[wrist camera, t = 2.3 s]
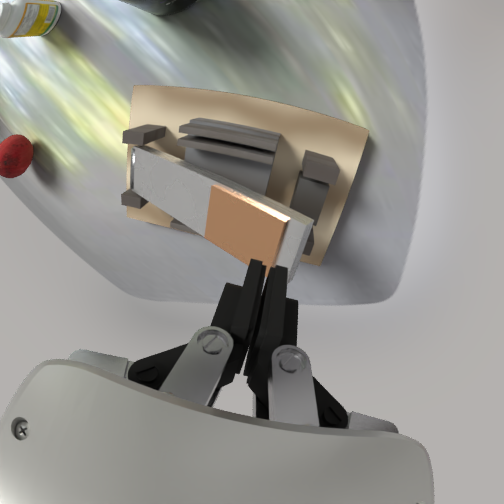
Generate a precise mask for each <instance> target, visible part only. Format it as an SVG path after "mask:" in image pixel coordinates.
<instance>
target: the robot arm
mask: <svg viewBox="0 0 504 504" xmlns="http://www.w3.org/2000/svg"><path fill="white" fill-rule="evenodd" d="M262 263H263V261H260V260H256V259H252V258H251V260H250V263H249V267H248V270H247V274H246V277H245V281H244V284H243V287H242V286H238V285H234V284H231V283H226V284H225V287H224V290H223V293H222V295H221V298H220V301H219V304H218V306H217V309H216V312H215V315H214V317H213V320H212V323H211V326H208V327H203V328H201V329H199V330H198V331H197V332H196V333H195V334H194V336H193V337H192V339H191V340H190V342H189V343H187V344H185V345H182V346H179V347H176V348H173V349H170V350H167V351H164V352H161V353H158V354H155V355H152V356H149V357H146V358H143V359H140V360H138V361H136V362H132V361H128V359H127V358H122V357H117V356H112V355H107V354H102V353H97V352H93V351H89V350H77V351H75V352H73V353H72V354H71V355H70V356H69V358H68V360H64V359H53V360H46V361H44V362H42V363H40V364H39V365H37V366H36V367H35V368H34V369H33V370H32V371H31V372H30V373H29V374H28V376H27V377H26V378H25V379H24V381H23V382H22V384H21V385H20V386H19V388H18V389H17V391H16V393H15V394H14V396H13V397H12V399H11V401H10V402H9V404H8V406H7V408H6V410H5V412H4V414H3V416H2V418H1V420H0V504H434V482H433V472H432V467H431V462H430V458H429V455H428V452H427V450H426V449H425V447H424V446H423V445H422V444H421V443H419V442H418V441H416V440H414V439H412V438H410V437H407V436H404V435H401V434H399V433H398V429H397V428H396V426H395V425H394V424H393V423H391V422H389V421H385V420H381V419H378V418H374V417H370V416H367V415H363V414H360V413H356V412H353V411H352V412H351V413H349V412H346V410H345V409H344V408H343V407H342V406H341V405H340V403H339V402H338V401H337V400H336V399H335V398H334V397H333V396H332V395H331V394H330V393H329V392H328V391H327V390H326V389H325V388H324V387H323V386H322V385H321V384H320V383H319V382H318V381H317V380H316V379H315V378H314V377H313V376H312V371H311V364H310V360H309V357H308V356H307V354H306V353H305V352H304V351H303V350H302V349H300V348H298V347H297V325H298V300H294V299H290V298H286V291H287V278H288V268H287V267H283V266H279V265H276V266H275V268H274V267H270V270H269V273H268V276H267V279H266V283H265V286H264V289H263V283H264V278H265V273H266V267H267V266H266V265H262ZM262 289H263V292H262ZM261 294H262V295H261ZM248 348H249V350H248ZM247 351H248V354H247V359H246V364H245V369H244V374H243V375H244V376H248V378H247V383H248V386H249V387H250V389H251V390H252V391H253V392H254V393H253V417H250V416H245V415H241V414H236V413H232V412H227V411H223V410H219V409H216V408H213V406H214V404H215V402H216V400H217V398H218V396H219V394H220V392H221V389H222V387H223V386H225V385H227V384H229V383H231V382H233V379H234V376H235V373H236V374H240V371H241V368H242V365H243V362H244V359H245V356H246V353H247Z"/></svg>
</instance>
